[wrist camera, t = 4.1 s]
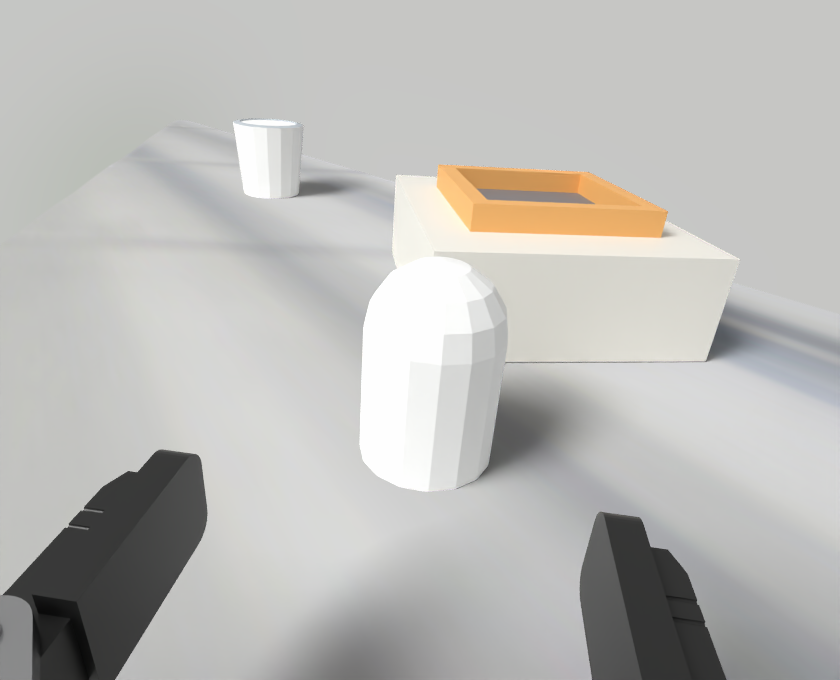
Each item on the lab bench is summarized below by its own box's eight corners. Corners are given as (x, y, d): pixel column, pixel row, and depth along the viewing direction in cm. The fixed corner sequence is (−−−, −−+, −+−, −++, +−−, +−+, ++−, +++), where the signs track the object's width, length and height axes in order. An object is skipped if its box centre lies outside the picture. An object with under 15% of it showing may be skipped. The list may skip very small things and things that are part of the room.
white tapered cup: (223, 190, 60) (217, 119, 57) (273, 182, 65) (271, 116, 62) (268, 203, 56) (265, 128, 53) (318, 193, 61) (317, 124, 58)
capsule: (470, 509, 20) (500, 302, 17) (335, 467, 22) (337, 268, 18) (503, 429, 25) (533, 253, 21) (390, 399, 26) (400, 229, 23)
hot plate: (568, 245, 51) (586, 158, 47) (705, 361, 32) (750, 231, 29) (388, 240, 48) (393, 147, 45) (424, 362, 30) (437, 219, 26)
